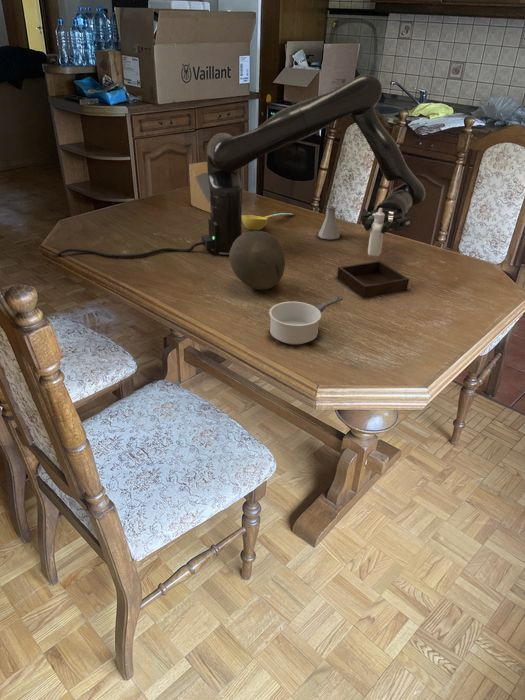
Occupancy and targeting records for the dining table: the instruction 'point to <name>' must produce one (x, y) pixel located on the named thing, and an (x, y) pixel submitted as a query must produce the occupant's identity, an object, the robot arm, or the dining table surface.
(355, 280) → the tray
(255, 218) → the ladle
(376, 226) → the eye dropper bottle
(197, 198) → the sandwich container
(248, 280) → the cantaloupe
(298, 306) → the saucepan
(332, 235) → the flask
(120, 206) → the dining table surface
